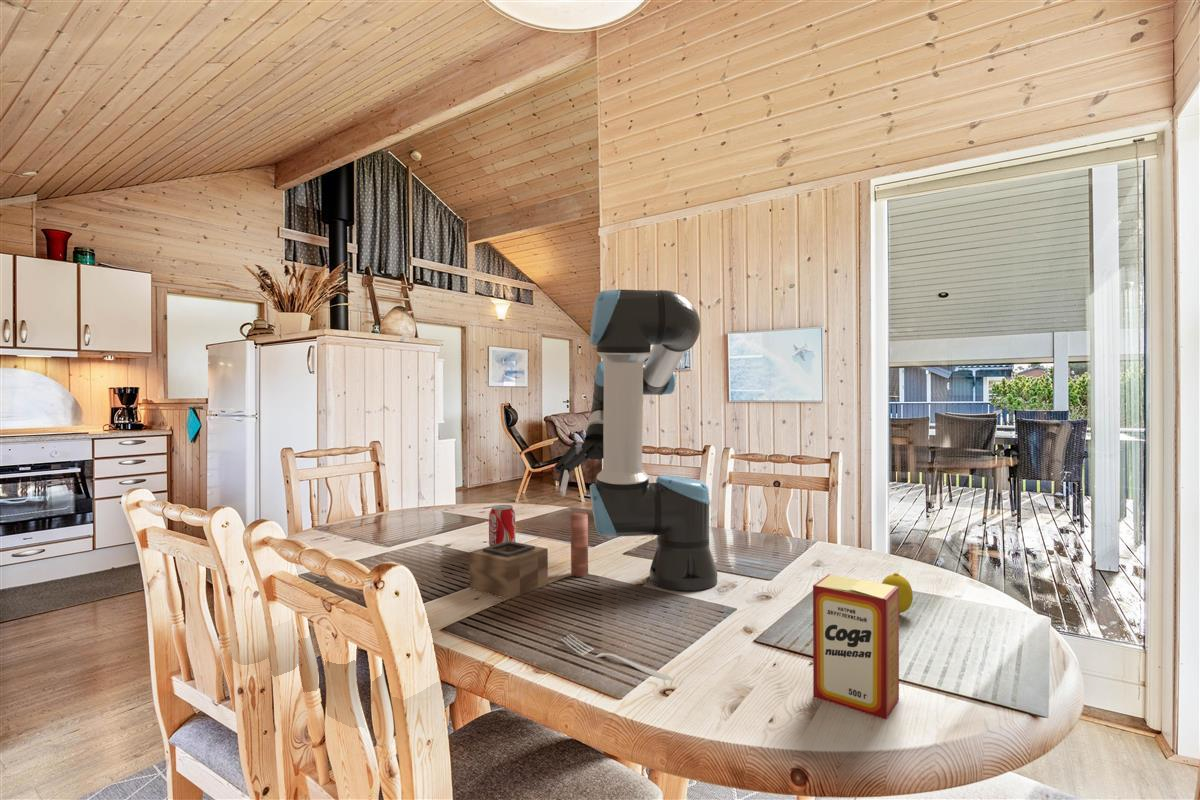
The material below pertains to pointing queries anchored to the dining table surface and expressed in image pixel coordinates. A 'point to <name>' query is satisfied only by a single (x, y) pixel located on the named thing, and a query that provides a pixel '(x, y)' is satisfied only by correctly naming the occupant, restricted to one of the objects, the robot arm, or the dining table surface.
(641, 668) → the fork
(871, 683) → the baking soda box
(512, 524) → the soda can
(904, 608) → the lemon
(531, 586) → the socket block
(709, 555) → the robot arm
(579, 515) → the peg
